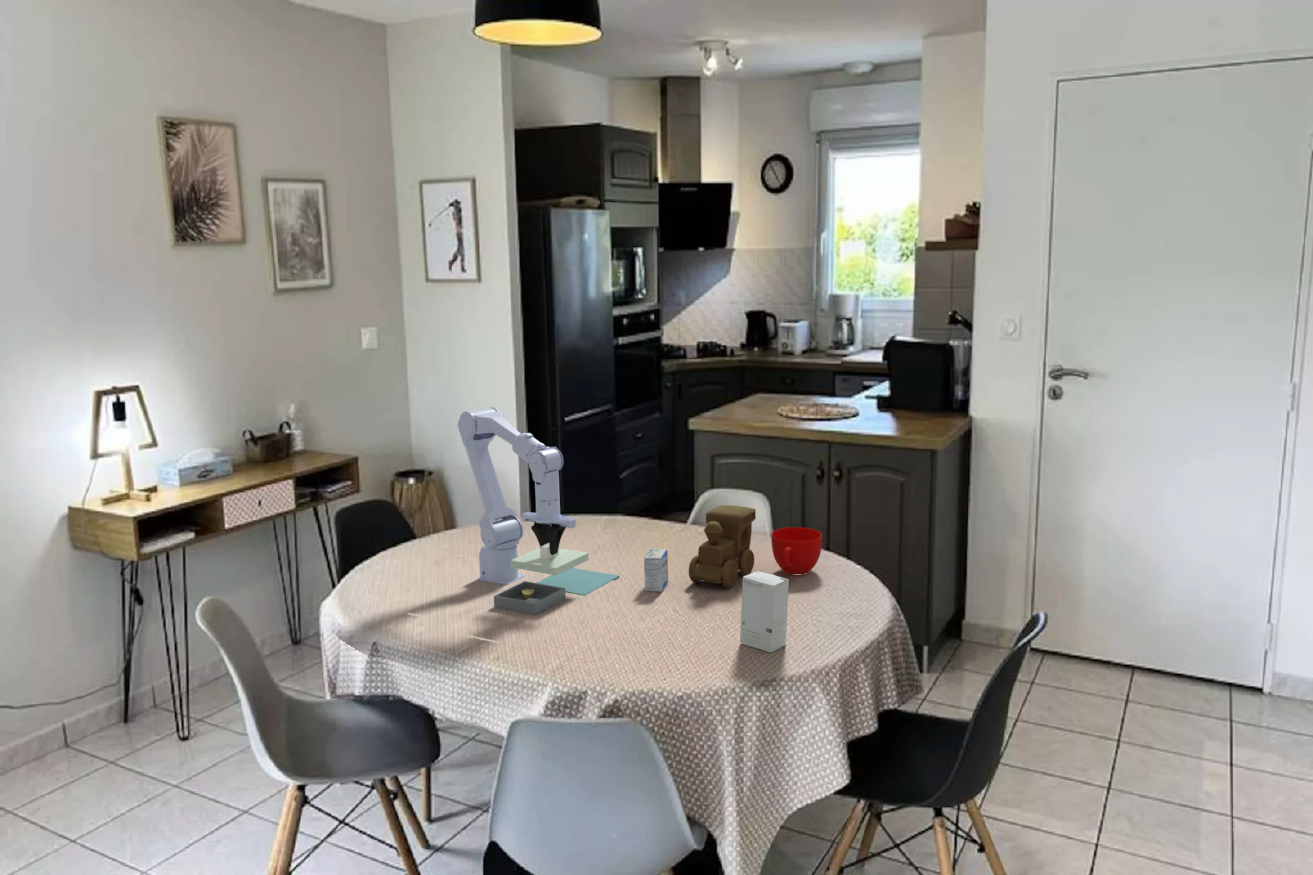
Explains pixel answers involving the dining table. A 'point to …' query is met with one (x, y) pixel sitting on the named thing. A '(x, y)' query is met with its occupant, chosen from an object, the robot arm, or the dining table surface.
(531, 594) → the bowl
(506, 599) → the tub
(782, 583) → the skincare box
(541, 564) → the lid
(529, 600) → the steel block
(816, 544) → the ceramic cup
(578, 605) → the dining table surface
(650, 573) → the medicine box
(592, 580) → the mat
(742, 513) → the wooden toy train
